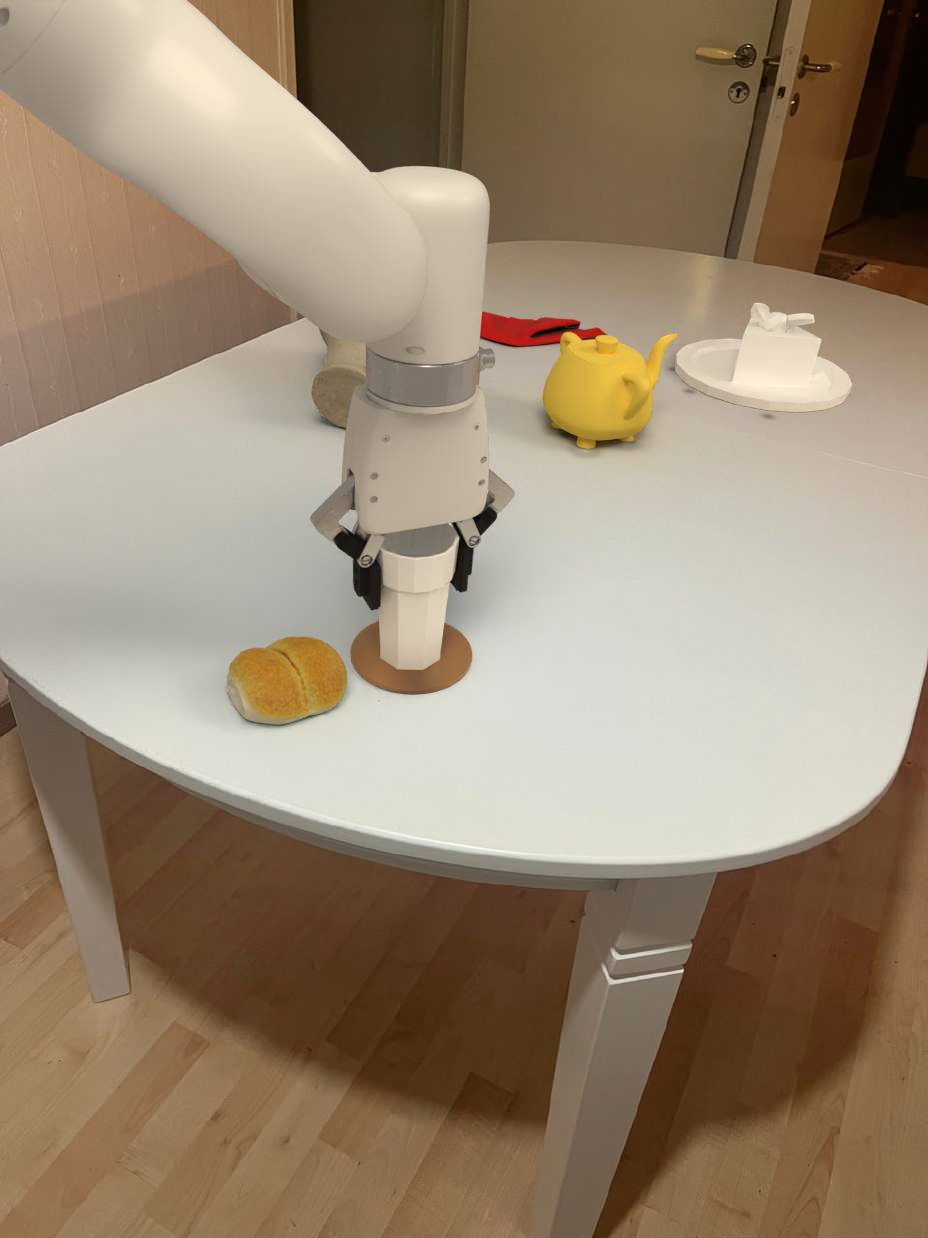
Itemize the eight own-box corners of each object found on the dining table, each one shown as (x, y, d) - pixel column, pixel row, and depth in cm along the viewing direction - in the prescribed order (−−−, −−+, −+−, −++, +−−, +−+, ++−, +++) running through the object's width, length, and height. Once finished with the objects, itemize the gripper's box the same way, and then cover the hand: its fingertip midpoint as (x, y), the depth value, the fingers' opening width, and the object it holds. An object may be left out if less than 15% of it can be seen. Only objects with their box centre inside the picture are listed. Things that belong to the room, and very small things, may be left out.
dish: (875, 416, 125) (903, 334, 118) (691, 405, 124) (710, 321, 117) (818, 352, 145) (840, 278, 138) (660, 342, 144) (674, 267, 137)
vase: (430, 359, 96) (483, 229, 113) (229, 301, 95) (313, 180, 113) (404, 506, 112) (453, 373, 130) (232, 457, 112) (305, 331, 130)
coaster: (375, 706, 71) (375, 702, 71) (334, 632, 78) (334, 629, 78) (492, 677, 75) (492, 674, 74) (442, 610, 82) (442, 606, 82)
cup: (356, 663, 74) (356, 546, 68) (389, 619, 79) (392, 507, 73) (433, 685, 73) (440, 567, 66) (461, 639, 78) (470, 526, 71)
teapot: (646, 465, 108) (666, 368, 101) (528, 443, 111) (539, 347, 104) (660, 420, 119) (679, 329, 112) (552, 401, 122) (563, 311, 115)
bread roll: (364, 704, 71) (364, 663, 69) (254, 742, 67) (250, 700, 65) (318, 645, 77) (317, 606, 74) (213, 677, 72) (208, 637, 70)
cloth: (425, 332, 141) (426, 317, 139) (453, 307, 151) (454, 293, 150) (593, 360, 135) (595, 345, 134) (609, 332, 146) (612, 318, 145)
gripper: (510, 342, 68) (490, 549, 79) (280, 364, 62) (291, 586, 72) (560, 379, 63) (532, 596, 73) (313, 408, 56) (321, 641, 67)
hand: (412, 590), depth 73 cm, fingers closed on cup, 6 cm apart
